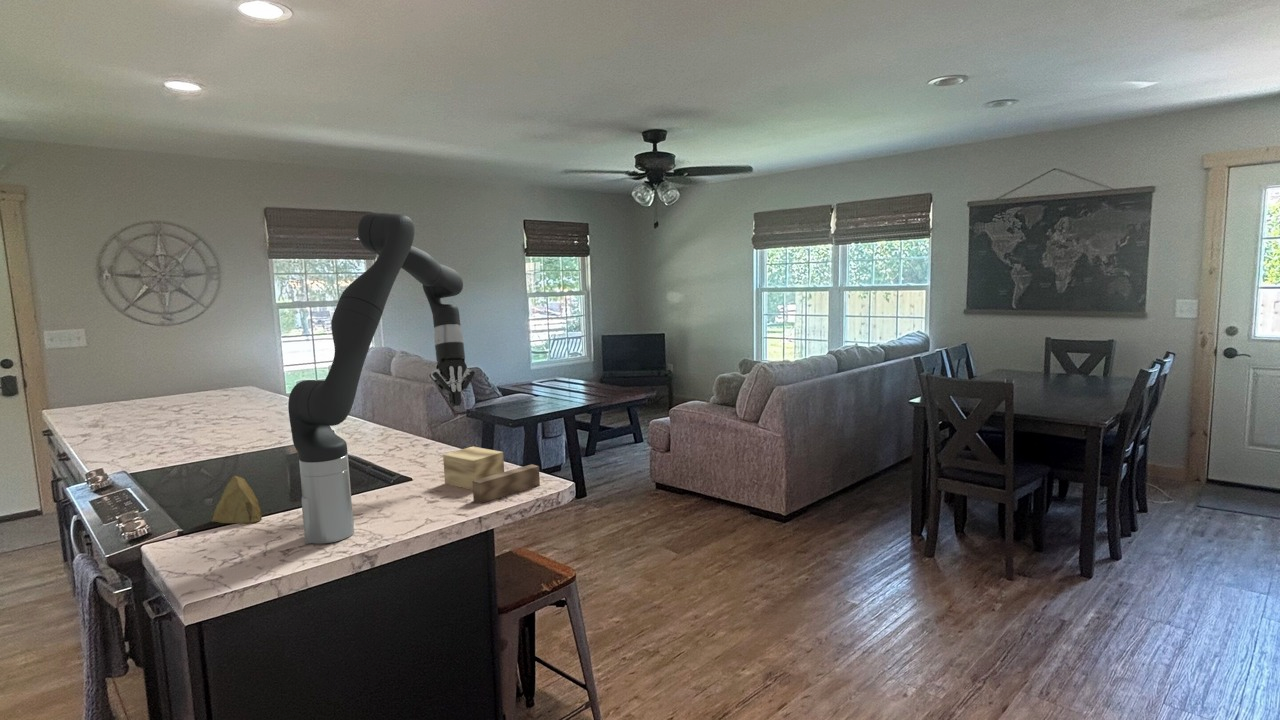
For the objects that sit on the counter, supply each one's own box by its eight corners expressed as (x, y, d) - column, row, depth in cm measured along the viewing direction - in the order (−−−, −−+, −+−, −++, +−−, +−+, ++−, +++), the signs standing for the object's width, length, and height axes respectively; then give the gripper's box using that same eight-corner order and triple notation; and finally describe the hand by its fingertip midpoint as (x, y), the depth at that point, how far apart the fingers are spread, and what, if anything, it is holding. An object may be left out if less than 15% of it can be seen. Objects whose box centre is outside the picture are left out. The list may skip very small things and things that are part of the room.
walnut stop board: (480, 503, 161) (479, 483, 160) (473, 500, 163) (472, 480, 162) (539, 485, 174) (539, 466, 173) (532, 482, 176) (531, 464, 175)
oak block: (475, 491, 171) (473, 460, 170) (445, 484, 178) (443, 454, 177) (504, 481, 179) (503, 451, 178) (474, 474, 186) (472, 446, 185)
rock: (276, 508, 154) (262, 494, 161) (249, 486, 149) (236, 472, 156) (235, 546, 149) (222, 529, 156) (206, 524, 144) (194, 507, 151)
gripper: (433, 340, 176) (440, 406, 174) (477, 340, 185) (484, 403, 183) (419, 346, 181) (426, 409, 179) (463, 346, 191) (470, 406, 188)
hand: (456, 406), depth 181 cm, fingers closed
